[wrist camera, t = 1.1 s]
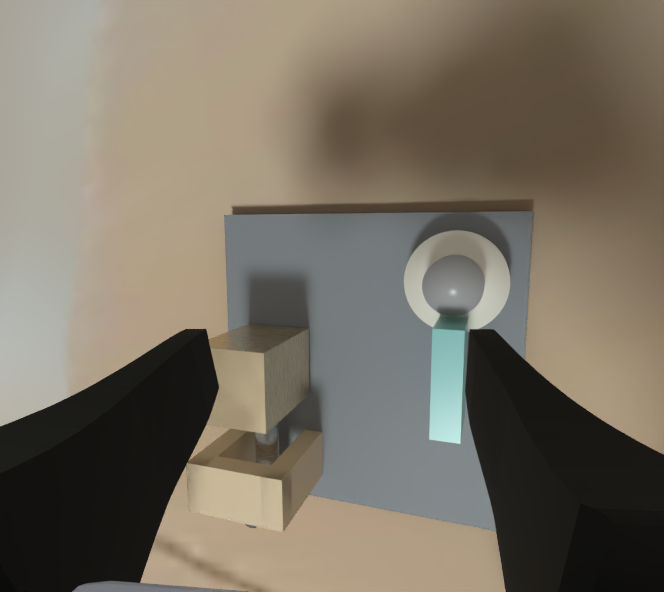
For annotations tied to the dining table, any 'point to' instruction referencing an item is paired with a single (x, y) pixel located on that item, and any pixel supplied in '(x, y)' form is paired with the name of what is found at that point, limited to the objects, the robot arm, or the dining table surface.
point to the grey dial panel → (353, 368)
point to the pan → (454, 313)
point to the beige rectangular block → (259, 381)
